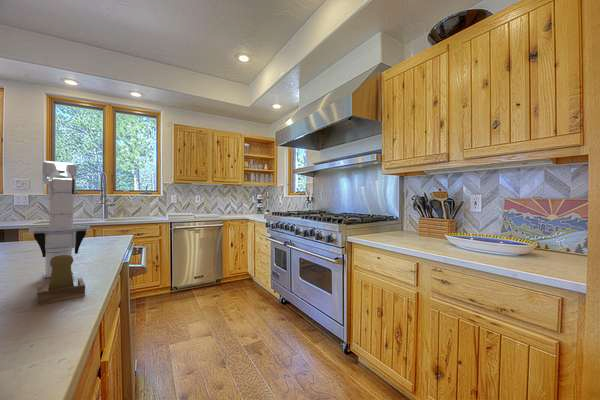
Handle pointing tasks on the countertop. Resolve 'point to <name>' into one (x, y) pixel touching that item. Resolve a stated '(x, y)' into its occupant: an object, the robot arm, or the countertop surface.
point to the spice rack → (60, 293)
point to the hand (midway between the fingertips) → (60, 254)
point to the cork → (61, 272)
